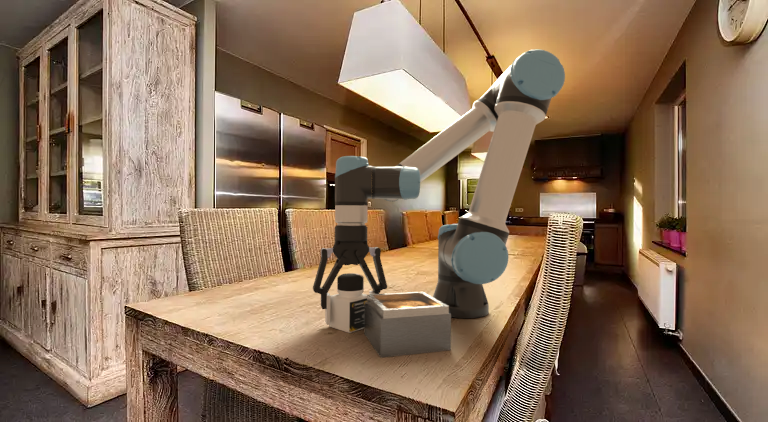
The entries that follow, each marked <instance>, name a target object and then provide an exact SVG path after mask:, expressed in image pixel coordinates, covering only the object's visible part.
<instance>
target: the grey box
mask: <svg viewBox="0 0 768 422" xmlns="http://www.w3.org/2000/svg"><path fill="white" fill-rule="evenodd" d="M364 336H365V337H366V339H367V340H368V342H369V343H370V345H371V346H372V348H373V349H374V350H375V352H376V353H377V354H378V356H379V357H380V358H387V357H388V358H390V357H396V356H408V355H415V354H427V353H436V352H446V351H451V349H452V347H451V345H452V344H451V341H452V338H451V337H452V317H451V313H449V306H448V305H446V304H444V303H442V302H441V301H439V300H437V299H435V298H434V297H433V296H432V295H430V294H429V293H426V292H424V291H412V292H411V291H409V292H392V293H391V292H390V293H379V294H370V295H369V294H367V302H365V328H364Z"/></svg>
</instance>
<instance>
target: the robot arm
mask: <svg viewBox="0 0 768 422" xmlns="http://www.w3.org/2000/svg"><path fill="white" fill-rule="evenodd" d="M565 80H566V73H565V67H564V65H563V64H562V63H561V62H560V59H559V58H558V57H557V56H556V55H555V54H554V53H552V52H550V51H547V50H545V49H539V48H538V49H537V48H536V49H535V48H534V49H530V50H527V51H525V52H523V53H522V54H521V55H519V56H518V57H516V58H515V59H514V60H513V61H512V63H511V65H509V66H508V68H507V69H506V70H505V71H504V72H503V73H502V74H501V75H500V76H499V77H498V78H497V79H496V81H495V82H494V83H493V84H492V85H491V86H490V87H489V88H488V90H487V91H486V92H484V94H483V95H482V96H481V97H480V98H478V99H477V100H475V101H474V102H473V104H472V108H471V109H470V110H469V111H467V112H466V113H465V114H463V115H462V116H461V117H459V118H457V119H456V120H455V121H454V122H452V123H451V124H450V125H448V126H447V127H446V128H445V129H443V130H442V131H440V132H439V133H438V134H437V135H435V136H433V138H431V139H430V140H428V141H427V142H426V143H425V144H423V145H422V146H420V147H419V148H418V149H417V150H415V151H414V152H413V153H412V154H411V153H410V155H409V156H407V157H406V158H404V159H403V160H402V161H401V162H399V163H398V164H396V165H395V166H375V165H374V166H373V165H370V164H369V160H368V158H367V157H365V156H356V155H345V156H341V157H339V158H338V159H336V161H335V172H334V173H335V174H334V206H335V207H334V208H335V209H334V222H335V223H336V224H337V225H335V226H334V243H333V244H334V245H333V246H332V247H329V248H324V247H322V248H320V260H319V265H318V268H317V271H316V274H315V279H314V281H313V282H314V283H313V285H312V290H313V292H314V293H316V294H319V295H320V307H321V310H325V312H324V313H325V318H324V319H325V324H326V326H329V325H330V296H331V294H330V293H329V291H330V290H331V287H332V286H333V283H334V282H335V280H336V278H337V277H338V276H339V272H340V271H341V270H342V268H343V266H350V265H354V266H359V267H360V269H361V271H362V272H363V273H364V275H365V278H366V279H367V281H368V283H369V286H370V288H371V289H372V290H368V292H369V293H368V295H370V294H381V292H382V291H383V290H387V288H388V284H387V279H386V276H385V271H384V268H383V267H384V266H383V264H382V260H381V255H382V254H381V253H382V252H381V251H382V250H381V248H380V247H378V246H375V247H371V246H369V245H368V225H366V224H367V223H368V221H369V220H368V219H369V218H368V215H369V214H368V206H369V205H368V201H369V199H373V200H374V199H379V200H380V199H381V200H385V201H388V202H396V201H399V200H404V201H405V200H406V201H407V200H416V199H418V197H419V196H420V193H421V182H423V181H424V180H425V179H427V178H429V177H430V176H432V174H434V173H436V171H439V169H440V168H441V167H443V166H445V165H446V164H447V163H448V162H450V161H451V160H453V159H454V158H455V157H457V156H458V155H460V154H461V153H462V152H463V151H465V150H466V149H467V148H468V147H470V146H471V145H473V144H474V143H475V142H477V141H478V140H479V139H480V138H482V137H483V136H485V134H487V133H488V132H492V136H491V139H490V141H489V142H490V143H489V145H488V148H487V152H486V155H485V159H484V161H483V164H482V168H481V170H480V171H481V172H480V173H479V176H478V181H477V183H476V187H475V190H474V193H473V197H472V200H471V204H470V206H469V210H468V212H466V213H465V214H464V215H462V216H460V217H459V220H458V222H457V223H452V224H444V225H441V226H440V227H439V229H438V234H437V240H438V243H437V245H438V246H437V247H438V248H437V251H438V253H437V259H438V260H437V284H436V286H435V289H434V292H433V296H432V297H434V298H435V299H437V300H439V301H441V302H442V303H444V304H446V305H448V306H449V313H451V318H454V319H455V318H456V319H475V318H482V317H485V316H488V315H489V311H490V308H489V302H488V298H487V294H486V292H485V288H484V285H486V284H487V285H488V284H490V283H493V282H494V281H496V280H498V279H499V278H500V277H501V276H502V275H503V274H504V273H505V271H506V269H507V267H508V263H509V252H508V248H507V242H508V238H509V235H510V230H509V228H508V227H507V224H506V221H507V218H508V215H509V211H510V208H511V205H512V202H513V199H514V196H515V192H516V190H517V186H518V182H519V179H520V177H521V173H522V170H523V166H524V164H525V160H526V157H527V154H528V151H529V148H530V146H531V145H530V144H531V141H532V139H533V135H534V132H535V129H536V125H538V124H540V123H541V122H543V121H544V120H546V116H547V113H548V110H549V107H550V104H551V101H552V98H554V97H556V96H557V95H558V94H559V93H560V91H561V90H562V88H563V86H564V84H565V82H566V81H565ZM368 253H370V256H371V257H372V261H373V264H374V267H375V272H376V276H377V280H378V283H377V281H376V280H375V277H374V276H373V273H372V272H371V270H370V268H369V266H368V264H367V262H366V260H365V258H366V256H367V255H368ZM332 254H333V255H334V257H336V258H337V259H336V260H335V262H334V265H333V267H332V269H331V271H330V272H329V273H328V276H327V277H326V279H325V281H324V282H323V285H322V281H323V278H324V274H325V271H326V269H327V268H326V267H327V264H328V259H330V258H331V255H332ZM321 285H322V287H321Z"/></svg>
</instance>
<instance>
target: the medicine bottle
mask: <svg viewBox="0 0 768 422" xmlns="http://www.w3.org/2000/svg"><path fill="white" fill-rule="evenodd" d="M336 278H337V285H336V287H337V289H336V291H337V294H332V295H331V294H330V325H328V327H329V328H333V329H336V330H338V331H342V332H345V333H348V334H352V333H354V332H357V331H360V330H363V329H364V330H365V302H367V295H368V294H366V293H364V290H365V288H364V287H365V286H364V284H365V283H364V282H365V281H364V279H365V277H364V276H363V275H362V274H359V273H353V272H352V273H350V272H349V273H342V274H339V275H337V277H336Z"/></svg>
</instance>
